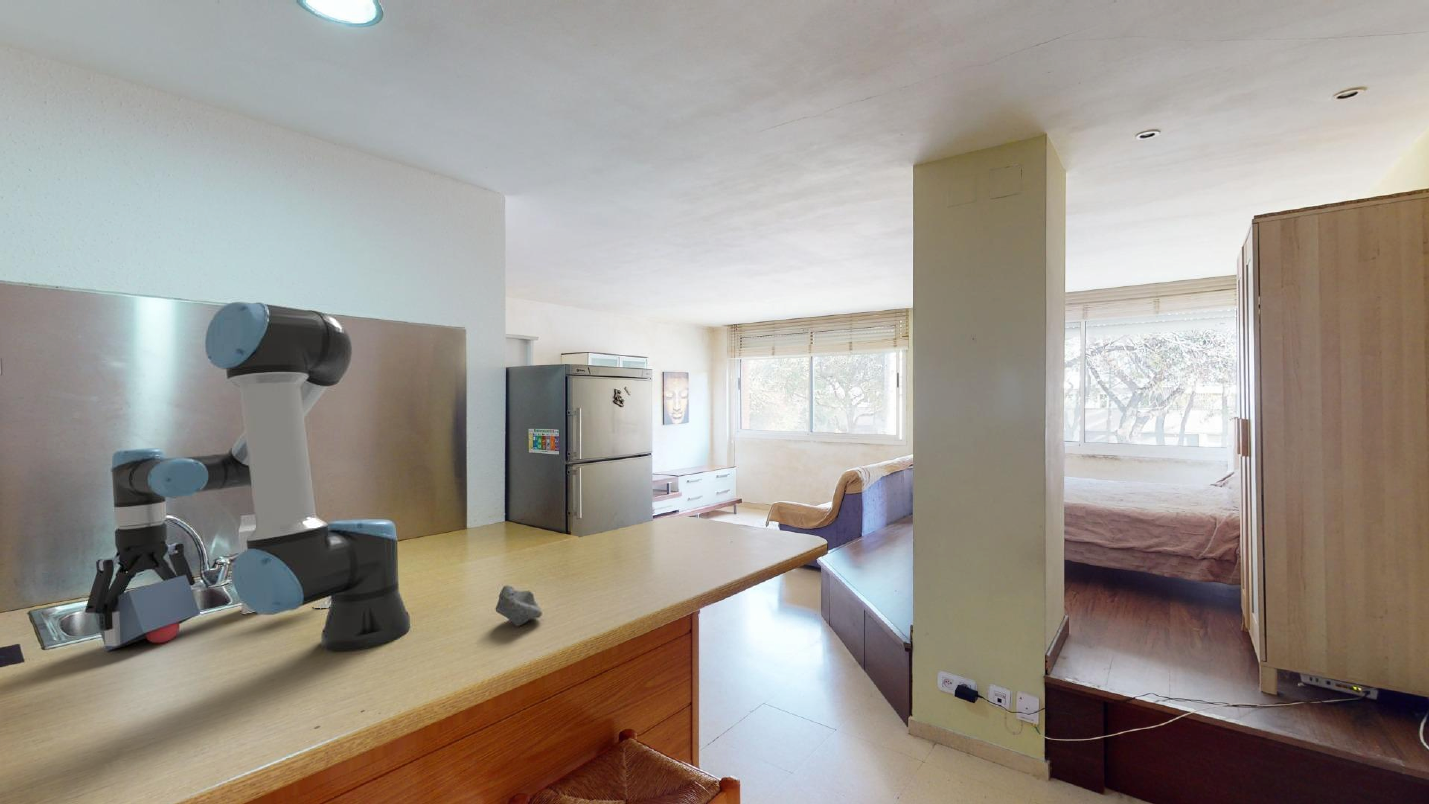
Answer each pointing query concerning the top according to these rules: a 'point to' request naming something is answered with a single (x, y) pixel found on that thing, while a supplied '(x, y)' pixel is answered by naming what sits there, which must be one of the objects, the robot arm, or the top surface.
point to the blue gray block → (153, 609)
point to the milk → (245, 542)
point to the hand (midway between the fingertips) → (145, 633)
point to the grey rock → (517, 605)
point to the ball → (163, 633)
